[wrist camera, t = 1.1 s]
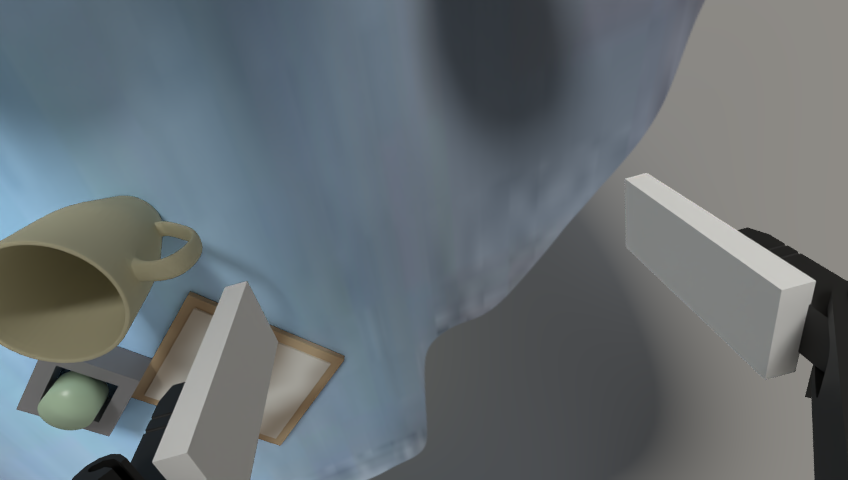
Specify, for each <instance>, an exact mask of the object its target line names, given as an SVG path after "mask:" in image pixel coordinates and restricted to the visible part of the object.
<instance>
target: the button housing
mask: <svg viewBox="0 0 848 480" xmlns="http://www.w3.org/2000/svg"><path fill="white" fill-rule="evenodd" d="M151 361H152V358H149V357H146V356H143V355H140V354H138V353H135V352H132V351H129V350H126V349H124V348H121V347H118V346H116V347H115V348H114V349H113V350H111V351H110V352H108V353H106V354H104V355H102V356H100V357H98V358H95V359H92V360H88V361H83V362H75V363H56V362H47V361H42V360H38V362H37V364H36V366H35V368H34V371H33V373H32V375H31V377H30V380H29V382H28V384H27V386H26V389H25V391H24V393H23V395H22V398H21V400H20V402H19V404H18V407H17V410H20V411H24V412H27V413H31V414H34V415H38V416H40V415H39V413H38V404H39V402H40V401H41V400H42V398H43V397H44V396H45V395H46V393H47V392H48V391H49V389H50V388H51V387H52V386H53V384H54V383H55V382H56V380H57V379H58V376H59V374H60V372H61V370H62V368H65V369H68V370H71V371H74V372H77V373H80V374H83V375H86V376H89V377H92V378H95V379H98V380H101V381H104V382H107V383H111V384H114V385H117V386H118V388H117V390H116V392H115V393H114V395H113V397H112V398H110V397H107V399H106V401H105V402H104V404H103V406H102V407H101V409H100V410H99V412H98V414H97V415H96V417H95V419H94V420H93V422H92V423H91V424H90V425H89V426H87V427H85V428H82V429H86V430H89V431H92V432H96V433H99V434H103V435H106V436H110V434H111V432H112V431H113V429H114V427H115V425H116V423H117V422H118V420H119V418H120V416H121V414H122V413H123V411H124V409H125V407H126V405H127V404H128V402H129V400H130V398H131V396H132V395H133V393H134V391H135V389H136V387H137V386H138V384H139V382H140V380H141V378H142V377H143V375H144V373H145V371H146V370H147V368H148V366H149V364H150V362H151Z"/></svg>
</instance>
